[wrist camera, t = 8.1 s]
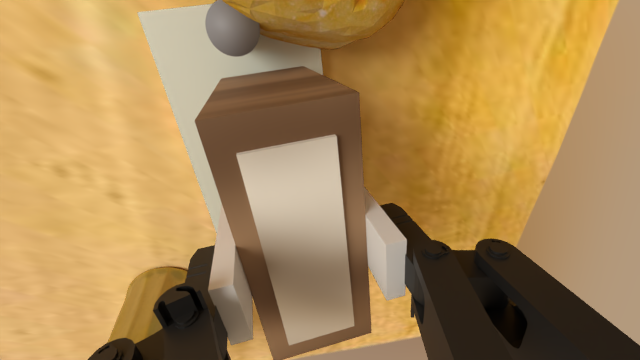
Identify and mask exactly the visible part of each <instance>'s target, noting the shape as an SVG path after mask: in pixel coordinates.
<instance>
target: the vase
mask: <svg viewBox="0 0 640 360" xmlns="http://www.w3.org/2000/svg"><path fill="white" fill-rule="evenodd" d="M186 275H187V271H186V270H183V269H179V268H173V267H162V268H156V269H151V270H148V271H146V272H144V273H142V274H140V275H139V276H137V277H136V278H135V279H134V280H133V281H132V282H131V284H130V286H129V288H128V291H127V294H126V298H125V301H124V304H123V306H122V308H121V311H120V313H119V316H118V318H117V320H116V323H115V325H114V328H113V330H112V333H111V336H110V338H109V340H108V342H111V341H113V340H115V339H119V338H128V339H131V340H132V341H133V342H134V343H135V344H136V343H137V342H139V341H141V340H143V339H145V338H147V337H149V336H151V335H153V334H154V333H156V332H158V331H159V330H161V329H162V328H163V327H162V326H161V324H160V322H159V320H158V319H157V317H156V315H155V313H154V312H153V308H154V305H155V303H156V301H157V300H158V298H159V297H160V296H161V295H162V294H163V293H164V292H166V291H167V290H168V289H170V288H172V287H174V286H176V285H179V284H182V283H185V279H186V278H187V277H186ZM108 342H107V343H108Z"/></svg>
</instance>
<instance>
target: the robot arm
mask: <svg viewBox="0 0 640 360" xmlns="http://www.w3.org/2000/svg"><path fill="white" fill-rule="evenodd" d="M364 199H365V218H366V238H367V257H368V267H369V268H370V270H371V272H372V274H373V276H374V278H375V280H376V281H377V283H378V285H379V287H380V289H381V291H382V293H383V294H384V296H385V298H386V300H391V299H394V298H398V297H401V296H405V285H406V286H407V288H408V289H409V291H410V292H411V294H412V295H411V317H414V313H415V317H416V320H417V323H418V327H419V330H420V333H421V337H422V340H423V343H424V346H425V350H426V353H427V357H428V360H640V346H639V345H638V344H637V343H636V342H634V341H633V340H632V339H631V338H629V337H628V336H627V335H626V334H624V333H623V332H622V331H620V330H619V329H618V328H617V327H616V326H614V325H613V324H612V323H610V322H609V321H608V320H607V319H605V318H604V317H603V316H602V315H600V314H599V313H598V312H596V311H595V310H594V309H593V308H591V307H590V306H589V305H588V304H586V303H585V302H584V301H583V300H581V299H580V298H579V297H578V296H576V295H575V294H574V293H573V292H571V291H570V290H569V289H567V288H566V287H565V286H564V285H562V284H561V283H560V282H559V281H557V280H556V279H555V278H554V277H552V276H551V275H550V274H548V273H547V272H546V271H545V270H543V269H542V268H541V267H540V266H538V265H537V264H536V263H534V262H533V261H532V260H531V259H530V258H528V257H527V256H526V255H524V254H523V253H522V252H521V251H519V250H518V249H517V248H516V247H514V246H513V245H511V244H509V243H507V242H505V241H502V240H498V239H484V240H481V241H479V242H478V243H477V245H476V248H475V250H451V249H450V247H449V246H447V245H446V244H444V243H442V242H439V241H436V240H431V239H430V238H429V237H428V236H427V235H426V234H425V233H424V232H423V231H422V229H421V228H420V227H419V226H418V225H417V224H416V223H415V222H414V221H413V220H412V219H411V218H410V216H408V215H407V213H406V212H405V211H404V210H403V209H402V208H401V207H399V206H397V205H395V204H393V203H389V204H385V205H381V206H379V204H378V203H377V202H376V201H375V199H374V198H373V197H372V196H371V194H370V193H369V192H368V191H367V189H366V188H365V187H364ZM188 269H189V270H188V271H187V275H186V277H187V278H186V279H185V283H182V284H179V285H176V286H174V287H172V288H170V289H168V290H167V291H166V292H164V293H163V294H162V295H161V296H160V297H159V298H158V300H157V301H156V303H155V305H154V308H153V312H154V313H155V315H156V317H157V319H158V320H159V322H160V324H161V326H162V327H163V328H162V329H161V330H159V331H158V332H156V333H154V334H153V335H151V336H149V337H147V338H145V339H143V340H141V341H139V342H137V343H136V344H135V343H134V342H133V341H132V340H131V339H128V338H119V339H115V340H113V341H111V342H108V343H107V344H105V345H104V346H102V347H101V348H99V349H98V350H97V351H96V352H95V353H94V354H93V355H92V356H91V357H90V358H89V359H88V360H231V359H230V356H229V354H228V351H227V337H228V339H229V341H230V343H231V345H234V344H238V343H241V342H245V341H248V340H252V339H253V314H252V293H251V290H250V287H249V284H248V281H247V278H246V275H245V272H244V269H243V266H242V263H241V260H240V257H239V254H238V251H237V248H236V245H235V242H234V239H233V236H232V233H231V230H230V227H229V224H228V221H227V218H226V215H225V212H224V209H223V206H222V205H221V211H220V217H219V224H218V230H217V237H216V243H215V245H214V246H209V247H205V248H201V249H198V250H197V251H196V252H195V254H194V255H193V256H192V258H191V260H190V264H189V267H188Z"/></svg>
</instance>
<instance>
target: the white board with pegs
mask: <svg viewBox="0 0 640 360" xmlns="http://www.w3.org/2000/svg"><path fill="white" fill-rule="evenodd" d="M137 13H138V16H139V19H140V21H141V24H142V27H143V30H144V33H145V35H146V38H147V41H148V44H149V46H150V49H151V52H152V55H153V58H154V60H155V63H156V66H157V69H158V72H159V74H160V77H161V80H162V83H163V85H164V88H165V91H166V94H167V97H168V99H169V102H170V105H171V108H172V110H173V113H174V116H175V119H176V122H177V124H178V127H179V130H180V133H181V136H182V138H183V141H184V144H185V147H186V149H187V152H188V155H189V158H190V161H191V163H192V166H193V169H194V172H195V175H196V177H197V180H198V183H199V186H200V188H201V191H202V194H203V197H204V200H205V202H206V205H207V208H208V211H209V214H210V216H211V219H212V222H213V225H214V227H215V230H216V233H217V230H218V224H219V217H220V211H221V205H222V203H221V200H220V197H219V194H218V190H217V187H216V184H215V181H214V178H213V175H212V172H211V169H210V166H209V163H208V160H207V157H206V154H205V151H204V148H203V145H202V142H201V139H200V136H199V133H198V130H197V127H196V124H195V119H196V117H197V116H198V114H199V113H200V111H201V110H202V108H203V106H204V105H205V103H206V102H207V100H208V98H209V97H210V95H211V94H212V92H213V91H214V89H215V87H216V86H217V84H218V83H219V81H220V80H221V78H227V77H234V76H240V75H247V74H254V73H260V72H267V71H273V70H280V69H287V68H293V67H300V66H304V67H306V68H309V69H311V70H313V71H315V72H317V73H319V74H321V75H323V68H322V59H321V49H318V48H312V47H306V46H301V45H296V44H292V43H288V42H283V41H279V40H276V39H272V38H269V37H266V36H263V35H261V34H260V26H259V23H258V22H256V21H254V20H252V19H250V18H248V17H246V16H245V15H243V14H242V13H240V12H239V11H237V10H236V9H234V8H232V7H231V6H229V5H228V4H226V3H225V2H223V0H217V1H216V2H214V3H213V4H207V5H198V6H189V7H180V8H172V9H163V10H154V11H145V12H137Z"/></svg>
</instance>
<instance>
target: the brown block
mask: <svg viewBox="0 0 640 360" xmlns="http://www.w3.org/2000/svg"><path fill="white" fill-rule="evenodd" d="M195 124H196V127H197V130H198V133H199V136H200V139H201V142H202V145H203V148H204V151H205V154H206V157H207V160H208V163H209V166H210V169H211V172H212V175H213V178H214V181H215V184H216V187H217V190H218V194H219V197H220V200H221V203H222V206H223V209H224V212H225V215H226V218H227V221H228V224H229V227H230V230H231V233H232V236H233V239H234V242H235V245H236V248H237V251H238V254H239V257H240V260H241V263H242V266H243V269H244V272H245V275H246V278H247V281H248V284H249V287H250V290H251V293H252V296H253V299H254V302H255V305H256V308H257V311H258V314H259V317H260V320H261V323H262V326H263V330H264V333H265V336H266V339H267V342H268V345H269V348H270V351H271V354H272V357H273V360H283V359H286V358H290V357H293V356H296V355H299V354H303V353H306V352H309V351H313V350H316V349H319V348H322V347H326V346H329V345H332V344H336V343H339V342H342V341H345V340H349V339H352V338H355V337H359V336H362V335H365V334H368V333H371V315H370V296H369V276H368V257H367V238H366V218H365V199H364V180H363V160H362V141H361V121H360V102H359V92H357V91H355V90H352V89H350V88H348V87H346V86H344V85H342V84H340V83H338V82H336V81H334V80H332V79H329V78H327V77H325V76H323V75H321V74H319V73H317V72H315V71H313V70H311V69H309V68H306V67H304V66H300V67H293V68H287V69H280V70H273V71H267V72H260V73H254V74H247V75H240V76H234V77H227V78H221V80H220V81H219V83H218V84H217V86H216V87H215V89H214V91H213V92H212V94H211V95H210V97H209V98H208V100H207V102H206V103H205V105H204V106H203V108H202V110H201V111H200V113H199V114H198V116H197V117H196V119H195Z"/></svg>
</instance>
